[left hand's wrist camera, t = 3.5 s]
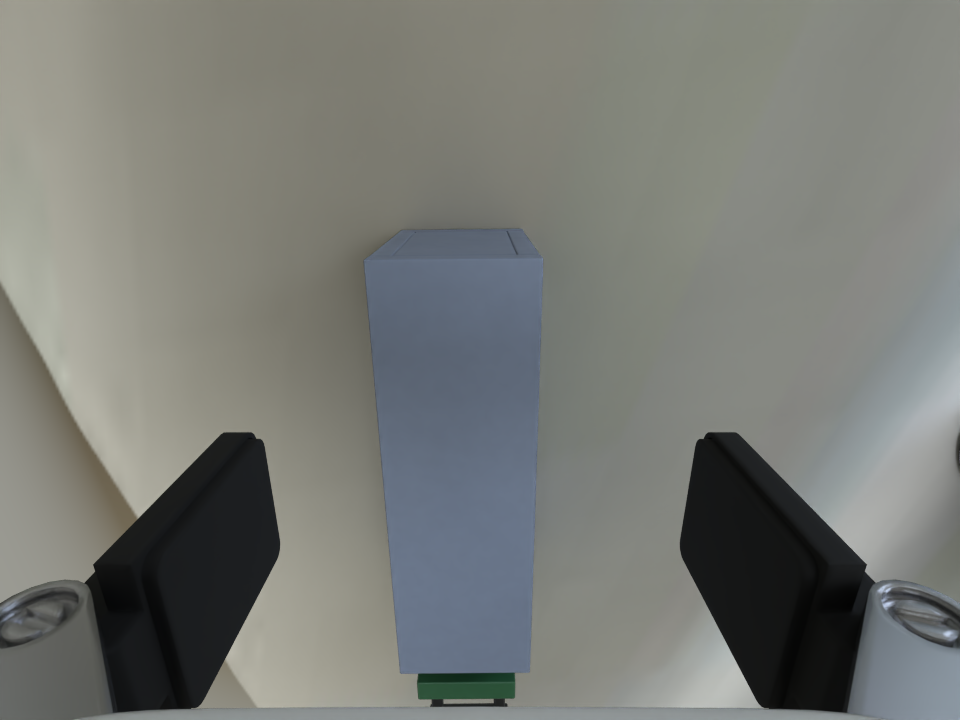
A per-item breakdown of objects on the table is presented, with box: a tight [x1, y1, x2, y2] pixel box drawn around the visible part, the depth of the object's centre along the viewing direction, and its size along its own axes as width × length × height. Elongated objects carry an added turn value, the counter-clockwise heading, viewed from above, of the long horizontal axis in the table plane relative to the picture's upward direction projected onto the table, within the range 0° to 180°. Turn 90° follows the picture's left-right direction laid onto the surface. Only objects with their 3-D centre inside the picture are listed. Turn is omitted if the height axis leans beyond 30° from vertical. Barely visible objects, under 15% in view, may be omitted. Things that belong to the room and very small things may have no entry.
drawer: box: [417, 673, 515, 707], centre depth 27 cm, size 24×5×7 cm, turn 1°
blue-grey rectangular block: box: [364, 229, 543, 674], centre depth 25 cm, size 20×6×9 cm, turn 1°
